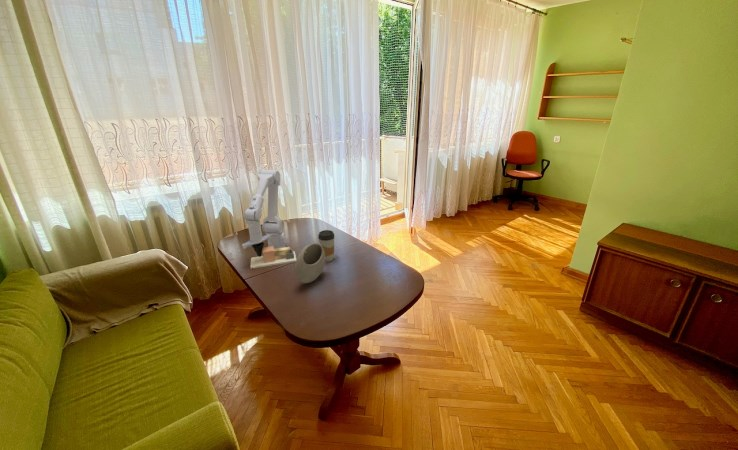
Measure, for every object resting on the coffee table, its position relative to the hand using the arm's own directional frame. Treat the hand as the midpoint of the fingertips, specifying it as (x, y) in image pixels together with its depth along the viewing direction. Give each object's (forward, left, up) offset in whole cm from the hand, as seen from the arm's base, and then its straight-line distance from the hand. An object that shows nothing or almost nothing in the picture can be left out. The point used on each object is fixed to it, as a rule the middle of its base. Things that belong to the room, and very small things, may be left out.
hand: (259, 255), depth 151 cm
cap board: (-7, 0, -4) cm, 8 cm away
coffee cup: (-34, +7, -4) cm, 35 cm away
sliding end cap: (-5, 0, -3) cm, 5 cm away
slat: (-9, 0, -3) cm, 10 cm away
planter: (-23, +25, -4) cm, 34 cm away
